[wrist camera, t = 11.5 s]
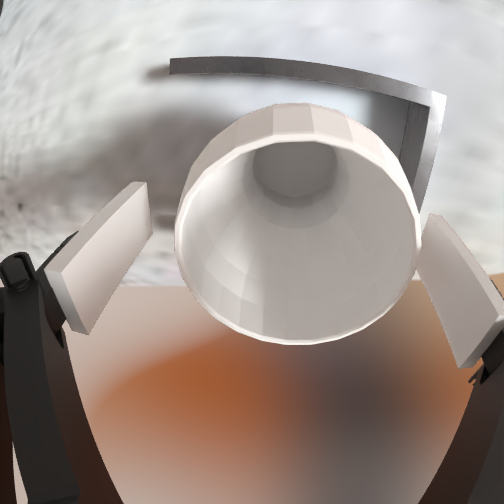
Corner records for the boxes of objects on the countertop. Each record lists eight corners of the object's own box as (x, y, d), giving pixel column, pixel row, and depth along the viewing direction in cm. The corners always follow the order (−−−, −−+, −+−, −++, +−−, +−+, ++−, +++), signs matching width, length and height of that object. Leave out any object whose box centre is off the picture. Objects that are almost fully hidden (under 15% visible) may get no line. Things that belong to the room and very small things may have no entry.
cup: (308, 234, 27) (316, 375, 15) (208, 172, 25) (128, 283, 12) (382, 144, 21) (479, 238, 9) (274, 67, 19) (251, 47, 7)
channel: (190, 226, 28) (176, 248, 25) (188, 60, 19) (169, 58, 16) (386, 249, 27) (397, 274, 23) (424, 91, 18) (446, 96, 15)
